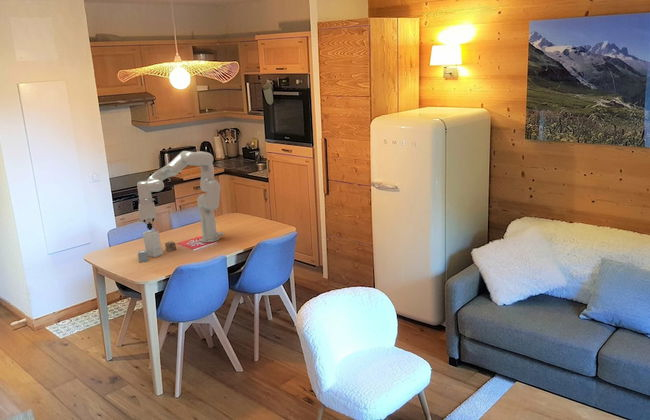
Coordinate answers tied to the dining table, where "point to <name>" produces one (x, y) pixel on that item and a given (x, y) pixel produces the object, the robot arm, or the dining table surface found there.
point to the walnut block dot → (170, 246)
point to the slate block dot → (143, 256)
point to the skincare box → (152, 243)
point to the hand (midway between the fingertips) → (150, 229)
